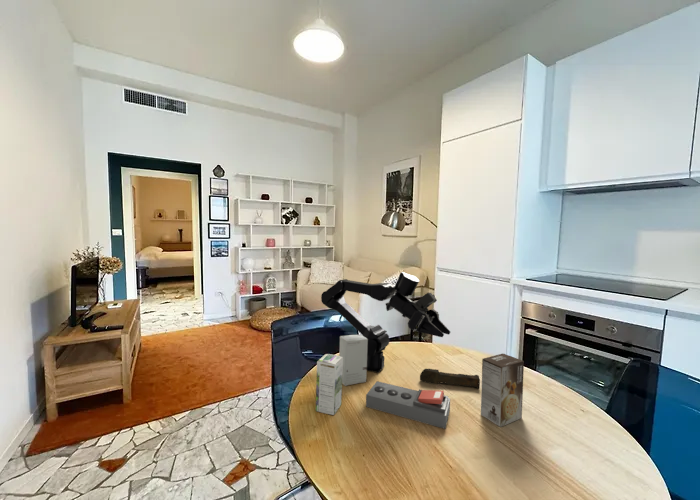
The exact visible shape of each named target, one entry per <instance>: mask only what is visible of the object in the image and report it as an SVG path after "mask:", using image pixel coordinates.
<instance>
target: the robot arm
mask: <svg viewBox="0 0 700 500" xmlns="http://www.w3.org/2000/svg"><path fill="white" fill-rule="evenodd" d="M419 283H420V279H419V278H418V277H417V276H416V275H414V274H413V275H412V274H409V273H406V272H404V271H402V272H400V274H399V276H398V279H397V281H396V283H395V284H392V283H389V282H380V283H368V282H361V281H356V280H349V279H346V278H343V279H339V280H338V281H336V283H335V284H333V285H331V286H330V287H329V288H328V289H326V291H325V290H324V291H323V292H322V293H321V296H320V297H321V298H320V301H321V304H322V305H324V306H325V307H327V308H329V309H331V310H334V311H336V312H338V313H339V315H341V317H343V318H344V319H345V320H346V321H347V322H348V323H349V324H350V325H351V326H352V327H353V328H354V329H355V330H357V331H358V333H359V334H360V335H362V336H364V337H365V338H367V339H368V345H367V371H369V372H373V373H377V374H379V373H380V372H381V371H382V370H383V368H385V356H384V351H385V350H386V349H387V348H386V347H387V346H389V344H390V335H389V334H388V333H387V330H385V329H383V327H382V326H381V325H380V324H377V325H372V324H371V323H369V322H368V321H367V320H366V319H365V318H363V316H361V314H360V313H358V312H357V311H356V310H355V309H354V308H352V306H351V305H350V304H348V303H347V302H346V298H345V297H344V296H345V294H346V292H351V293H357V294H360V295H362V294H363V295H366V296H369V297H370V298H372V299H373V300H376V301H378V302H383V301H386V300H389V301H388V302H386V303H385V306H386V308H385V309H386V311H387V312H388V311H392V310H393V309H394V310H395V311H396V312H398V313H400V314H401V317H403V318H407V319H408V322H407V327H408V328H409V329H410V330H411V331H413V332H418V333H421V334H427V335H431V336H436V337H439V338H443V337H444V335H450V334H451V331H450V330H449V329H448V328H447V326H446V325H445V324H444V323H443V322H442V321H441V319H440V314H439V312H438V311H437V310H435V309H433V308H432V309H429V308H428V307H430V306H431V305H432V304H434V303H436V302H437V298H436V296H435V295H434V294H433V293H432V292H426V293H425V294H424V295H422V297H420V298H419V299H418V300H414V301H413V300H412V299H410V298H408V297H409V296H411V297H412V296H413V295H414V293H415V290H416V289H417V287H418V285H419Z"/></svg>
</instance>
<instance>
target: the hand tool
mask: <svg viewBox="0 0 700 500" xmlns="http://www.w3.org/2000/svg"><path fill="white" fill-rule="evenodd" d="M419 380H420V382H423V383H426V384H432V385H438V384H446V385H457V386H464V387H471V388H472V387H473V388H474V387H475V388H476V389H477V390H479V389H480V387H481V385H480V383H481V380H480V376H479V375H478V374H474V375H473V374H472V375H471V374H465V373H449V372H442V371H440V370H439V369H436V368H435V369H434V368H424V369H422V371H421V372H420V375H419Z"/></svg>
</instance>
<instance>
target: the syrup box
mask: <svg viewBox="0 0 700 500" xmlns="http://www.w3.org/2000/svg"><path fill="white" fill-rule="evenodd" d="M342 372H343V357H340V356H339V355H336V354H332V353H331V354H330V353H325V354H324V355H323V356H322V357H321V358H319V359H318V360H317V361H316V383H315V385H316V386H315V387H316V388H315V411H316V412H319V413H322V414H327V415H332V416H335V414H336V413H337V412H338V410H339V409H340V407H341V406H342V402H343V401H342V398H343V397H342V395H343V383H342Z"/></svg>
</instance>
